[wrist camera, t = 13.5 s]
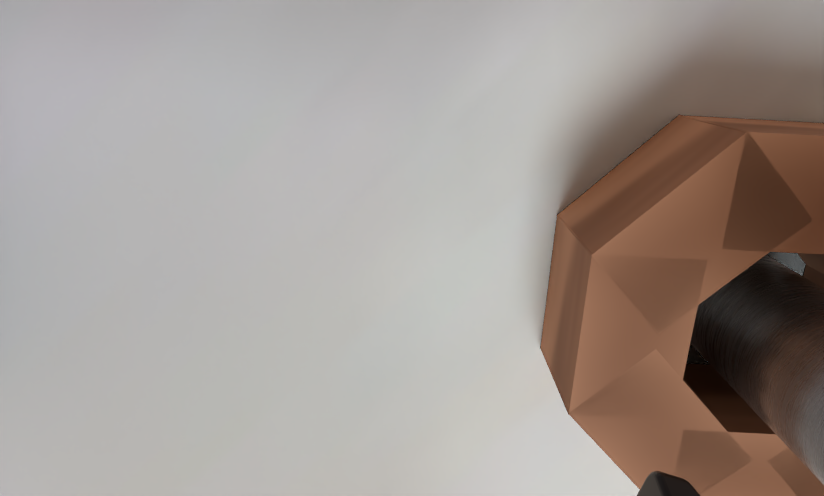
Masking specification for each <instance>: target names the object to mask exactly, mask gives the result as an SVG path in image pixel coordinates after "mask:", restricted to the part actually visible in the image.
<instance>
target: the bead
mask: <svg viewBox="0 0 824 496" xmlns="http://www.w3.org/2000/svg"><path fill="white" fill-rule="evenodd" d="M769 252H787V253H798V255H799V256H800V257H801V259H802V260H803V261H804V263H805V264H806V267H805V271H804V275H803V277H805V278H807V279H808V280H810V281H812V282H813V283H815V284H817V285H819V286H820V287H822V288H824V123H812V122H794V121H775V120H757V119H738V118H719V117H701V116H682V115H678V116H677V117H676V118H675V119H674V120H672V121H671V122H670V123H669V124H668V125H666V126H665V127H664V128H663V129H661V130H660V131H659V132H658V133H657V134H655V135H654V136H653V137H652V138H651V139H649V140H648V141H647V142H646V143H644V144H643V145H642V146H641V147H640V148H638V149H637V150H636V151H635V152H633V153H632V154H631V155H630V156H629V157H627V158H626V159H625V160H624V161H622V162H621V163H620V164H619V165H618V166H616V167H615V168H614V169H613V170H611V171H610V172H609V173H608V174H607V175H605V176H604V177H603V178H602V179H601V180H599V181H598V182H597V183H596V184H594V185H593V186H592V187H591V188H590V189H588V190H587V191H586V192H585V193H583V194H582V195H581V196H580V197H579V198H577V199H576V200H575V201H574V202H572V203H571V204H570V205H569V206H568V207H566V208H565V209H564V210H563V211H562V212H560V213H559V214H557V221H556V229H555V237H554V245H553V253H552V261H551V269H550V277H549V285H548V293H547V301H546V309H545V317H544V324H543V332H542V340H541V347H540V348H541V351H542V353H543V355H544V358H545V360H546V362H547V365H548V367H549V369H550V372H551V374H552V377H553V379H554V381H555V384H556V386H557V388H558V391H559V393H560V395H561V398H562V400H563V403H564V405H565V407H566V410H567V412H568V414H569V415H570V416H571V417H572V418H573V419H574V420H575V421H576V422H577V423H578V424H579V425H580V426H581V428H582V429H583V430H584V431H585V432H586V433H587V434H588V435H589V436H590V437H591V438H592V439H593V440H594V441H595V442H596V443H597V445H598V446H599V447H600V448H601V449H602V450H603V451H604V452H605V453H606V454H607V455H608V456H609V457H610V458H611V459H612V460H613V461H614V463H615V464H616V465H617V466H618V467H619V468H620V469H621V470H622V471H623V472H624V473H625V474H626V475H627V476H628V477H629V478H630V480H631V481H632V482H633V483H634V484H635V485H636V486H637V487H638V488H639V489H641V487H642V485H643V483H644V481H645V480H646V478H647V477H648V475H649V474H650V473H651V472H654V471H661V472H664V473H667V474H670V475H674V476H677V477H680V478H683V479H685V480H687V481H688V482H689V483H690V484H691V485H692V486H693V487H694V488H695V490H696V491H697V492H698V493H699V494H700V496H824V485H823V484H822V483H821V482H820V481H819V479H818V478H817V477H816V476H815V475H814V474H813V473H812V472H811V471H810V470H809V469H808V468H807V467H806V466H805V465H804V464H803V463H802V461H801V460H800V459H799V458H798V457H797V456H796V455H795V454H794V453H793V452H792V451H791V450H790V449H789V448H788V447H787V446H786V444H785V443H784V442H783V441H782V440H781V439H780V438H779V437H778V436H777V435H776V434H775V433H774V432H773V431H772V430H771V429H770V427H769V426H768V425H767V424H766V423H765V422H764V421H763V420H762V419H761V418H760V417H759V416H758V415H757V414H756V413H755V412H754V410H753V409H752V408H751V407H750V406H749V405H748V404H747V403H746V402H745V401H744V400H743V399H742V398H741V397H740V396H739V395H738V394H737V392H736V391H735V390H734V389H733V388H732V387H731V386H730V385H729V384H728V383H727V382H726V381H725V380H724V379H723V378H722V377H721V375H720V374H719V373H718V372H717V371H716V370H715V369H714V368H713V367H712V366H711V365H704V364H686V362H687V357H688V352H689V347H690V342H691V337H692V332H693V327H694V322H695V318H696V313H697V308H698V305H699V304H700V303H702V302H703V301H704V300H706V299H707V298H708V297H710V296H711V295H712V294H714V293H715V292H716V291H718V290H719V289H720V288H722V287H723V286H724V285H726V284H727V283H729V282H730V281H731V280H733V279H734V278H735V277H737V276H738V275H739V274H741V273H742V272H743V271H745V270H746V269H747V268H749V267H750V266H752V265H753V264H754V263H756V262H757V261H758V260H760V259H761V258H762V257H764V256H765V255H766V254H768V253H769Z"/></svg>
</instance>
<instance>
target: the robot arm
mask: <svg viewBox="0 0 824 496" xmlns="http://www.w3.org/2000/svg"><path fill="white" fill-rule="evenodd" d="M637 496H700V494H699V493H698V492H697V491H696V490H695V488H694V487H693V486H692V485H691V484H690V483H689V482H688V481H687V480H685V479H683V478H680V477H677V476H674V475H670V474H667V473H664V472H661V471H654V472H651V473H650V474H649V475H648V477H647V478H646V480H645V481H644V483H643V485H642V487H641V489H640V491H639V493H638V494H637Z"/></svg>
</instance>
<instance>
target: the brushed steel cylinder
mask: <svg viewBox="0 0 824 496" xmlns="http://www.w3.org/2000/svg"><path fill="white" fill-rule="evenodd" d="M690 344H691V345H692V346H693V347H694V348H695V349H696V350H697V351H698V352H699V353H700V354H701V355H702V356H703V357H704V358H705V360H706V361H707V362H708V363H709V364H710V365H711V366H712V367H713V368H714V369H715V370H716V371H717V372H718V373H719V374H720V375H721V377H722V378H723V379H724V380H725V381H726V382H727V383H728V384H729V385H730V386H731V387H732V388H733V389H734V390H735V391H736V392H737V394H738V395H739V396H740V397H741V398H742V399H743V400H744V401H745V402H746V403H747V404H748V405H749V406H750V407H751V408H752V409H753V410H754V412H755V413H756V414H757V415H758V416H759V417H760V418H761V419H762V420H763V421H764V422H765V423H766V424H767V425H768V426H769V427H770V429H771V430H772V431H773V432H774V433H775V434H776V435H777V436H778V437H779V438H780V439H781V440H782V441H783V442H784V443H785V444H786V446H787V447H788V448H789V449H790V450H791V451H792V452H793V453H794V454H795V455H796V456H797V457H798V458H799V459H800V460H801V461H802V463H803V464H804V465H805V466H806V467H807V468H808V469H809V470H810V471H811V472H812V473H813V474H814V475H815V476H816V477H817V478H818V479H819V481H820V482H821V483H822V484H823V485H824V288H822V287H820V286H819V285H817V284H815V283H813V282H812V281H810V280H808V279H807V278H805V277H803V276H801V275H800V274H798V273H796V272H795V271H793V270H791V269H789V268H788V267H786V266H784V265H782V264H781V263H779V262H777V261H776V260H774V259H772V258H770V257H769V256H767V255H765V256H764V257H762V258H761V259H760V260H758V261H757V262H756V263H754V264H753V265H752V266H750V267H749V268H747V269H746V270H745V271H743V272H742V273H741V274H739V275H738V276H737V277H735V278H734V279H733V280H731V281H730V282H729V283H727V284H726V285H724V286H723V287H722V288H720V289H719V290H718V291H716V292H715V293H714V294H712V295H711V296H710V297H708V298H707V299H706V300H704V301H703V302H702V303H700V304H699V305H698V308H697V313H696V318H695V322H694V327H693V332H692V337H691V342H690Z"/></svg>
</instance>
